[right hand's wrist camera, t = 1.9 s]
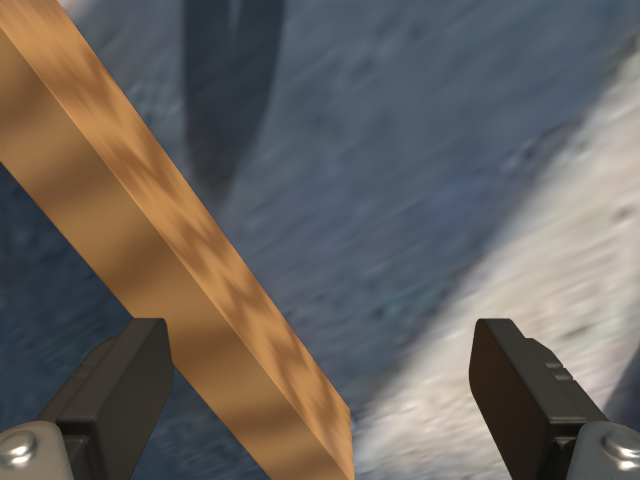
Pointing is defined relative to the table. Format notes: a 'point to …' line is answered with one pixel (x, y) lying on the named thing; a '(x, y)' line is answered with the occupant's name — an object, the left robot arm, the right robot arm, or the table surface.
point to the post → (160, 246)
